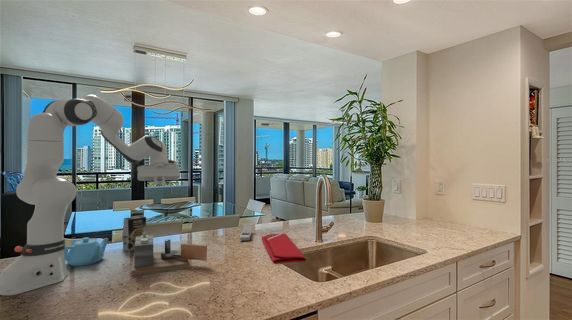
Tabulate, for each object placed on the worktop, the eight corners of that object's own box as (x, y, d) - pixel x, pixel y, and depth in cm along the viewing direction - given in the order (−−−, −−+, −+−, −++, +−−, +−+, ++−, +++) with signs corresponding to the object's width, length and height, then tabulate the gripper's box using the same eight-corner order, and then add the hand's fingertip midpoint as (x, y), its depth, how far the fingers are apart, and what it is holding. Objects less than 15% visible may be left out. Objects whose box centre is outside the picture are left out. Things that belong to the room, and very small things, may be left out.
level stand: (189, 267, 127) (189, 235, 127) (131, 275, 118) (131, 241, 118) (183, 253, 147) (183, 225, 147) (133, 259, 138) (133, 229, 138)
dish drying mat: (272, 264, 133) (272, 256, 133) (260, 240, 173) (260, 234, 173) (306, 262, 136) (306, 254, 136) (287, 239, 176) (287, 232, 176)
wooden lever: (203, 262, 127) (203, 244, 127) (157, 258, 132) (157, 240, 132) (211, 257, 134) (211, 240, 134) (167, 253, 139) (167, 237, 139)
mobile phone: (252, 223, 193) (249, 231, 168) (252, 232, 193) (249, 242, 168) (243, 223, 193) (238, 232, 168) (243, 232, 192) (238, 242, 168)
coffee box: (128, 251, 149) (128, 219, 149) (122, 249, 153) (122, 217, 153) (146, 247, 156) (146, 216, 156) (140, 245, 160) (140, 215, 160)
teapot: (72, 257, 139) (72, 234, 139) (108, 254, 144) (108, 232, 144) (58, 269, 125) (58, 243, 125) (99, 265, 129) (99, 240, 129)
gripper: (137, 161, 151) (136, 181, 142) (179, 161, 160) (181, 180, 151) (137, 169, 155) (136, 190, 146) (178, 169, 164) (180, 188, 155)
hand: (159, 185), depth 149 cm, fingers closed
